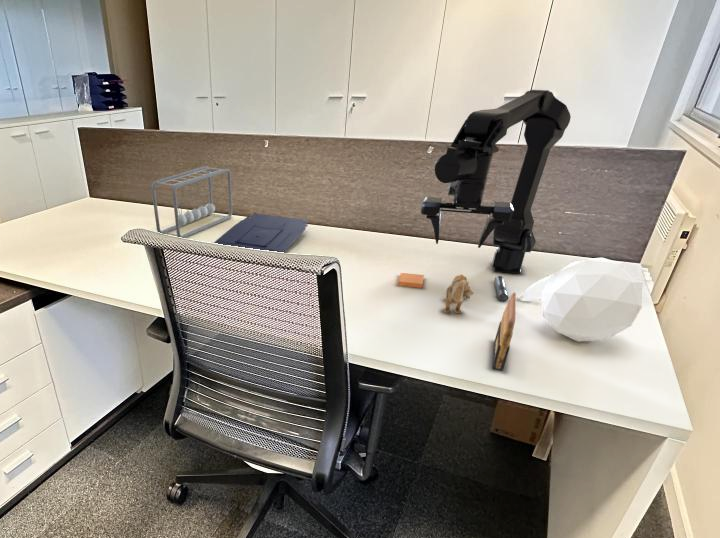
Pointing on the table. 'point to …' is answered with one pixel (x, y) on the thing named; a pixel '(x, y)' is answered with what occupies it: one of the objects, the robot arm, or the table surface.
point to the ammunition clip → (504, 335)
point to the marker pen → (501, 289)
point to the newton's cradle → (195, 213)
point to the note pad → (411, 280)
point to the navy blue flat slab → (264, 232)
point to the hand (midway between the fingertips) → (457, 245)
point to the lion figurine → (457, 293)
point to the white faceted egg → (589, 299)
